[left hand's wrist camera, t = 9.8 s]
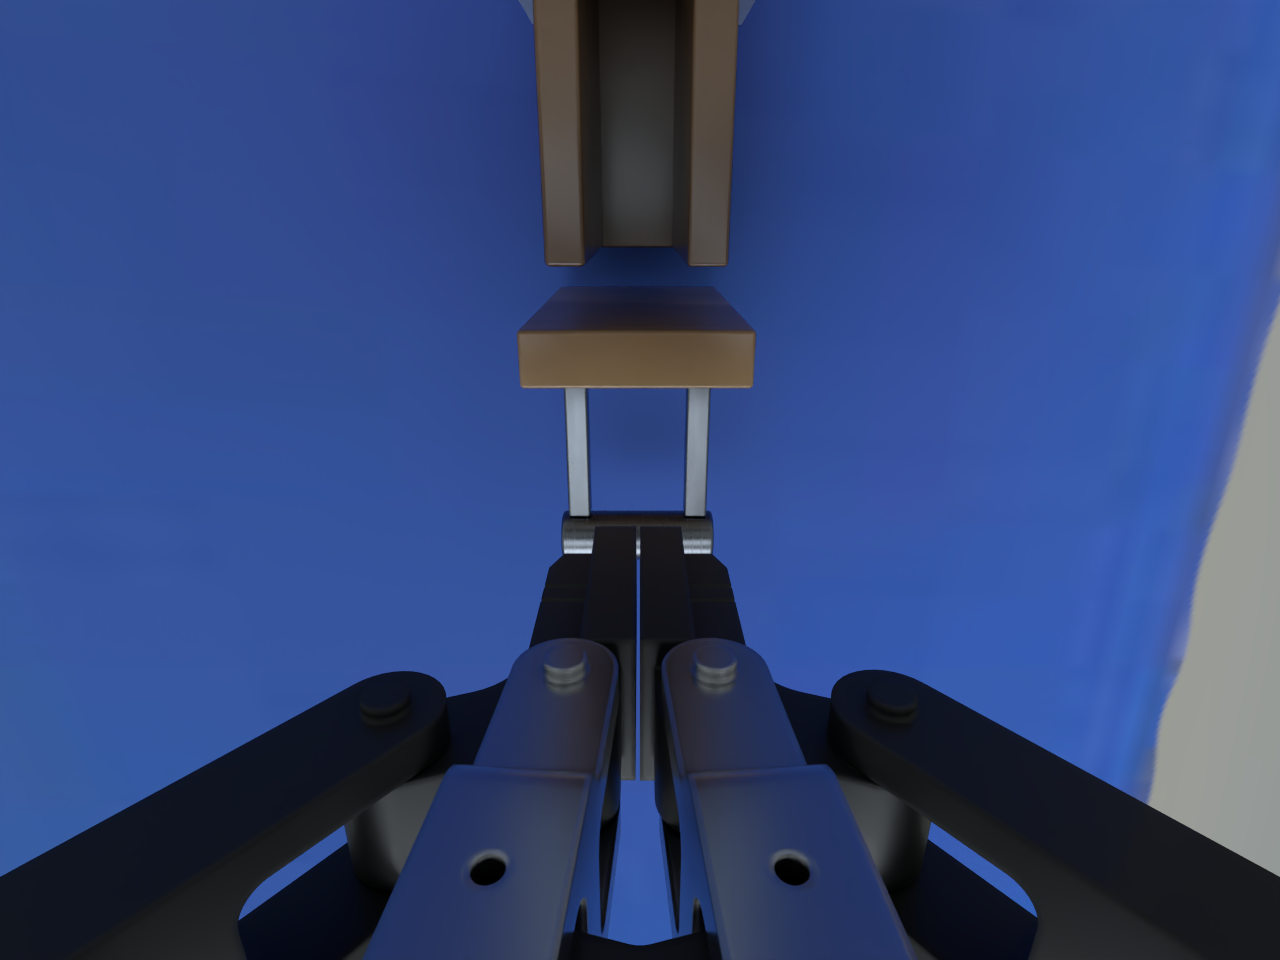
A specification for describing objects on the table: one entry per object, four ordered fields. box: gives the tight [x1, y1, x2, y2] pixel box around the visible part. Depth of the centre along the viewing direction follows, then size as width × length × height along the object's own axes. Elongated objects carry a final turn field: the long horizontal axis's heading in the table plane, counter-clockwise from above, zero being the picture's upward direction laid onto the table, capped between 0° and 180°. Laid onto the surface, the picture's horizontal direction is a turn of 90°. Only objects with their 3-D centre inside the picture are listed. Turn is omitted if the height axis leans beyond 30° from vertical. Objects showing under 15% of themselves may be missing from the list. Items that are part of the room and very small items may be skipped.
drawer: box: [517, 0, 756, 559], centre depth 16 cm, size 22×5×8 cm, turn 0°
